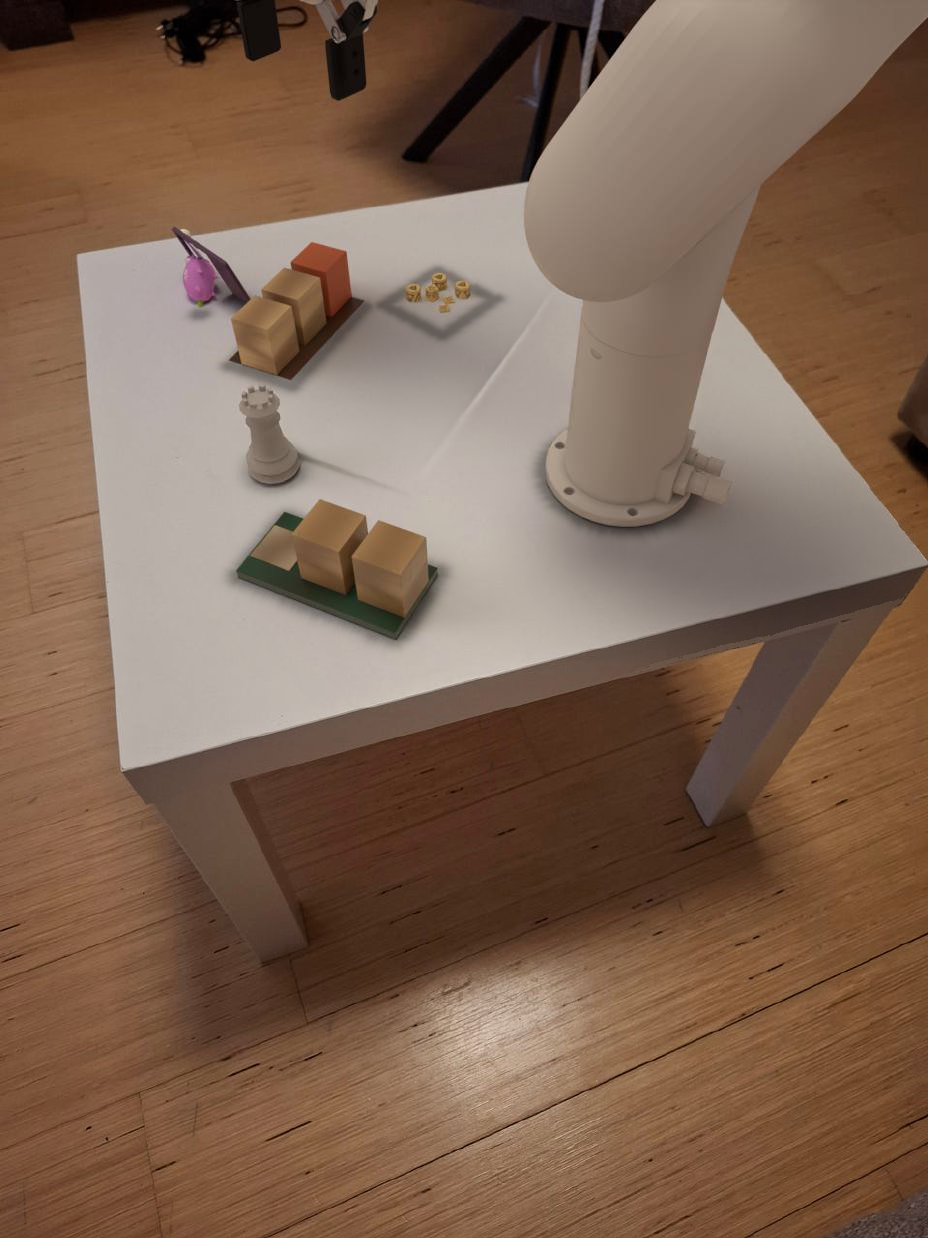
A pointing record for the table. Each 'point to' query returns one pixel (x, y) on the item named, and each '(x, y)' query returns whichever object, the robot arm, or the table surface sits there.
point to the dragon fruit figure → (206, 271)
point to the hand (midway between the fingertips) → (305, 73)
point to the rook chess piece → (267, 438)
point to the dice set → (433, 291)
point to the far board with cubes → (286, 324)
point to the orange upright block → (326, 273)
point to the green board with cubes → (344, 566)
